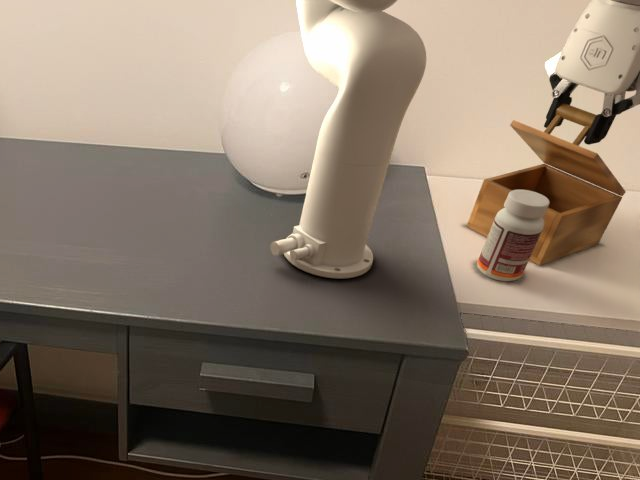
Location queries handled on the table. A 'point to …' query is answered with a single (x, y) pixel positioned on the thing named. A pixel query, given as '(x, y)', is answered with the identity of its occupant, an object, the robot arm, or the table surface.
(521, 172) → the chest
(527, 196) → the pill bottle
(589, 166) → the lid
